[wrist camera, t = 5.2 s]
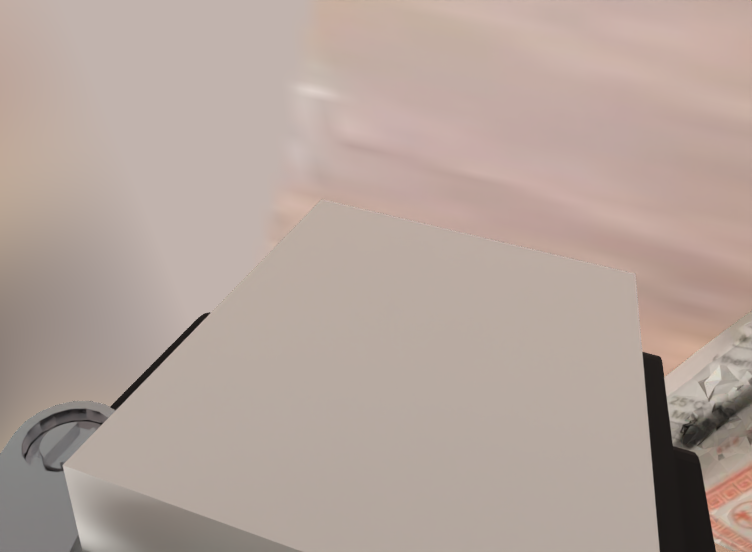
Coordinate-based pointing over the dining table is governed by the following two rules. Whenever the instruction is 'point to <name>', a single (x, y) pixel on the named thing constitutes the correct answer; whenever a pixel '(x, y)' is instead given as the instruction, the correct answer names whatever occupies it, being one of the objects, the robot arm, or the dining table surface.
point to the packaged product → (719, 427)
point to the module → (386, 406)
